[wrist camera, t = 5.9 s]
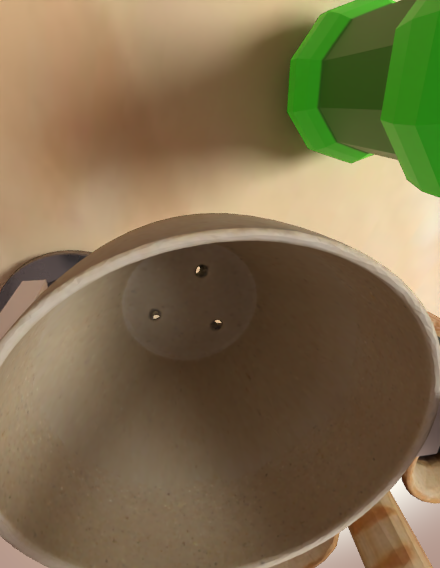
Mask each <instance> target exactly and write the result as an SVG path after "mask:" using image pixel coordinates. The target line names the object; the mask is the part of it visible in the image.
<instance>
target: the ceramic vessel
mask: <svg viewBox="0 0 440 568" xmlns="http://www.w3.org/2000/svg"><path fill="white" fill-rule="evenodd" d="M427 313H428V315H429V316H430V318H431V320H432V322H433V325H434V328H435V331H436V334H437V336H439V337H440V318H439V317H437V316H435V315H433V314H431V313H429V312H427ZM402 481H403V483H404V485H405V487H406V489H407V490H408V492H409V493H410V494H411V495H413V496H414V497H416V498H418V499H420V500H421V501H424V502H430V503H440V447H439V449H438V452H437V454H431V455H424V456H418V457H415V459H414V460H413V462H412V463H411V465H410V466H409V467H408V469H407V470H406V471H405V473H404V474H403V475H402ZM348 528H349V530H350V532H351V535H352V537H353V540H354V542H355V545H356V547H357V549H358V552H359V554H360V556H361V559H362V561H363V564H364V566H365V568H433V567H432V565H431V563H430V562H429V560H428V558H427V556H426V554H425V552H424V551H423V549H422V547H421V545H420V544H419V542H418V540H417V538H416V536H415V535H414V533H413V531H412V529H411V528H410V526H409V524H408V522H407V521H406V519H405V517H404V515H403V513H402V512H401V510H400V508H399V506H398V505H397V503H396V501H395V500H394V498H393V496H392V494H391V492H390V491H388V492H387V493H386V495H385V496H384V497H383V498H382V499H381V500H379V501H378V502H377V503H376V504H375V505H374V506H373V507H372V508H371V509H370V510H368V511H367V512H366V513H365V514H364V515H363V516H361V517H360V518H359V519H357V520H356V521H355V522H353V523H352V524H351V525H350V526H348ZM338 537H339V533H338V534H337V535H335V536H334V537H332V538H330V539H329V540H327V541H325V542H323V543H322V544H320V545H318V546H316V547H314V548H312V549H310V550H308V551H307V552H305V553H303V554H301V555H298V556H296V557H294V558H292V559H289V560H287V561H284V562H282V563H280V564H277V565H274V566H272V567H269V568H315V567H317V566H318V565H319V564H321V563H322V562H323V561H325V560H326V559H327V557H328V556H329V555H330V554H331V553H332V552H333V550H334V549H335V547H336V546H337V541H338Z"/></svg>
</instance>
